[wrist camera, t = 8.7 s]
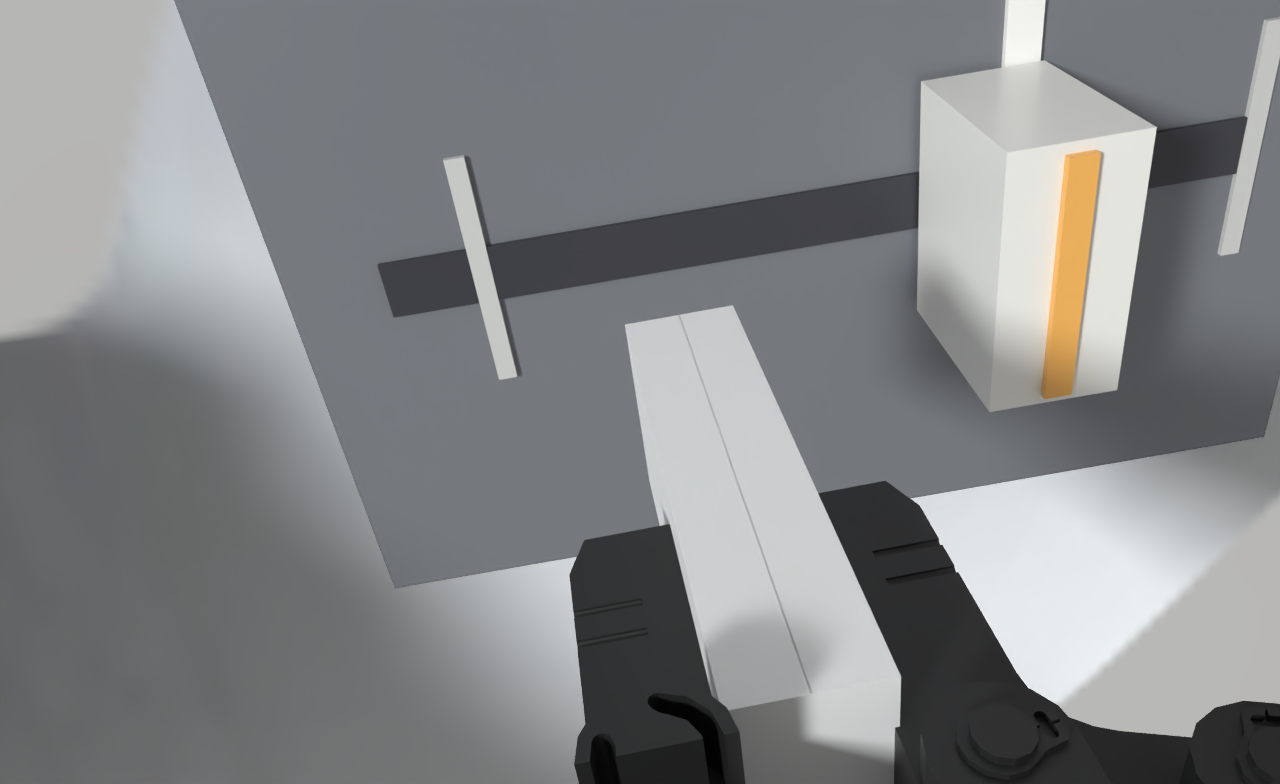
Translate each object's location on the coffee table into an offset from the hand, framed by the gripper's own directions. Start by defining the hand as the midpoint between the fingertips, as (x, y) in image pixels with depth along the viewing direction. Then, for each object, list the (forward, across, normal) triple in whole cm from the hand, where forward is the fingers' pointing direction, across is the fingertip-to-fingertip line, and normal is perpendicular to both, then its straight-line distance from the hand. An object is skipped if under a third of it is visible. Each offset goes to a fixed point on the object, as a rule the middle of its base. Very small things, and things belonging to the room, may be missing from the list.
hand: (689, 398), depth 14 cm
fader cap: (+7, +7, -1) cm, 10 cm away
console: (+9, +4, -1) cm, 10 cm away
